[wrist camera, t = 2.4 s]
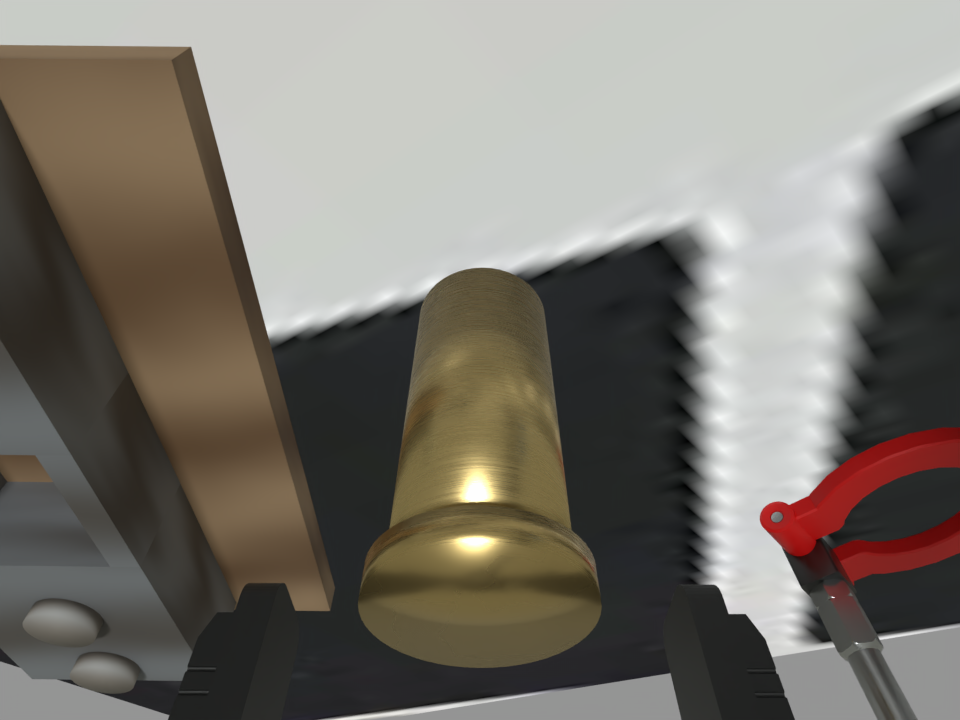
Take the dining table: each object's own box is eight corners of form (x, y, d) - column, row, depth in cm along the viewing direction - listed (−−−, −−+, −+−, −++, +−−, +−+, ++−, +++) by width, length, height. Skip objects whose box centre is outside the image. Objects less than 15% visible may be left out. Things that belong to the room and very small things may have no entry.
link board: (-480, 40, 15) (-848, 114, 11) (191, 47, 15) (78, 123, 11) (5, 583, 30) (-71, 699, 26) (335, 587, 30) (311, 704, 26)
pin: (401, 255, 18) (342, 541, 11) (564, 256, 18) (618, 544, 11) (412, 377, 21) (371, 667, 14) (551, 378, 21) (586, 669, 14)
